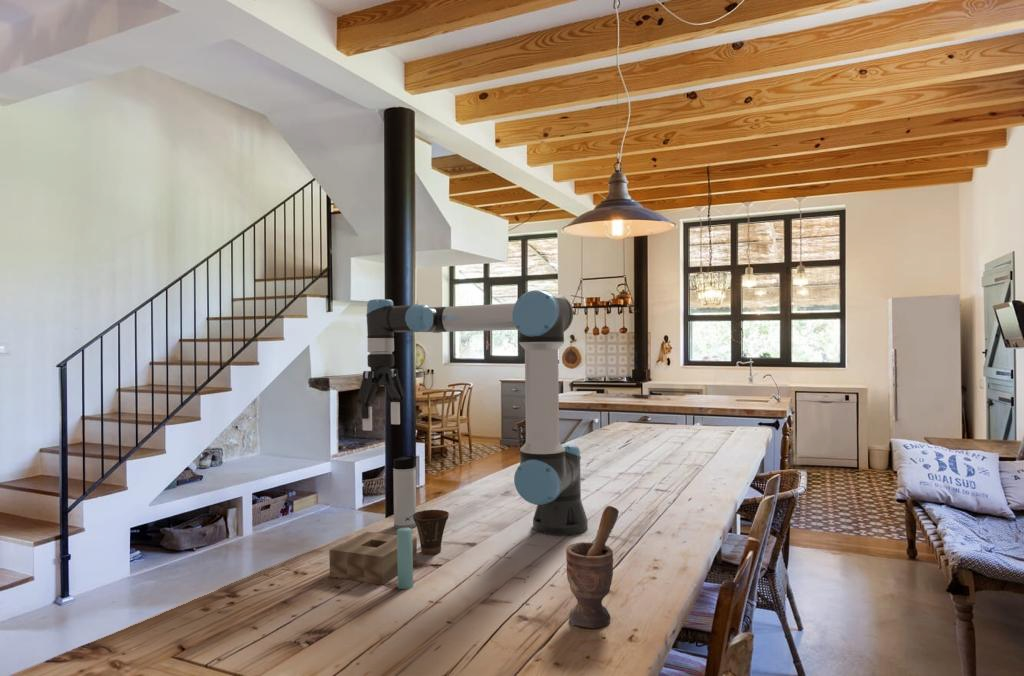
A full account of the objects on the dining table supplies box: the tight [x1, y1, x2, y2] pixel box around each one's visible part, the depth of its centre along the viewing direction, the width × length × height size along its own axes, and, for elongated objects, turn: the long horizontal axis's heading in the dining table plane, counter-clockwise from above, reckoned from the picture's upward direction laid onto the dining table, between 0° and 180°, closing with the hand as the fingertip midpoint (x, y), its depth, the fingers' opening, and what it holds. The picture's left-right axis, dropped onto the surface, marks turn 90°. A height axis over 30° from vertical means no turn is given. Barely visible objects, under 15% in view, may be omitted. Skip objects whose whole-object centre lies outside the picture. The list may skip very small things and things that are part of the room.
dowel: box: [396, 528, 414, 590], centre depth 133 cm, size 3×3×12 cm
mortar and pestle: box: [565, 505, 619, 629], centre depth 117 cm, size 12×9×20 cm
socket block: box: [328, 531, 418, 586], centre depth 143 cm, size 14×14×6 cm
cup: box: [413, 509, 450, 555], centre depth 156 cm, size 9×9×10 cm
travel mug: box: [392, 454, 418, 530], centre depth 177 cm, size 6×7×20 cm
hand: (381, 427), depth 180 cm, fingers open, 13 cm apart
